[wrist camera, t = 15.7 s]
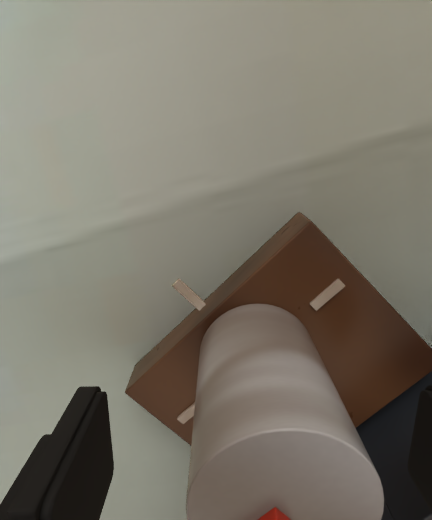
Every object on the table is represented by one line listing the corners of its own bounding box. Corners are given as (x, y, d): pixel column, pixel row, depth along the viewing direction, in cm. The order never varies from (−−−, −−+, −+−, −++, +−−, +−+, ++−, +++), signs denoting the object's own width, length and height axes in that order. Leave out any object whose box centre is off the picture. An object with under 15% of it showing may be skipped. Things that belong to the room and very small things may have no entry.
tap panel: (268, 178, 15) (276, 183, 12) (418, 337, 16) (447, 364, 14) (103, 340, 17) (87, 367, 15) (254, 464, 19) (259, 504, 16)
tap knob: (258, 279, 14) (296, 401, 7) (336, 355, 14) (433, 525, 8) (176, 355, 14) (142, 524, 8) (253, 421, 15) (280, 622, 9)
